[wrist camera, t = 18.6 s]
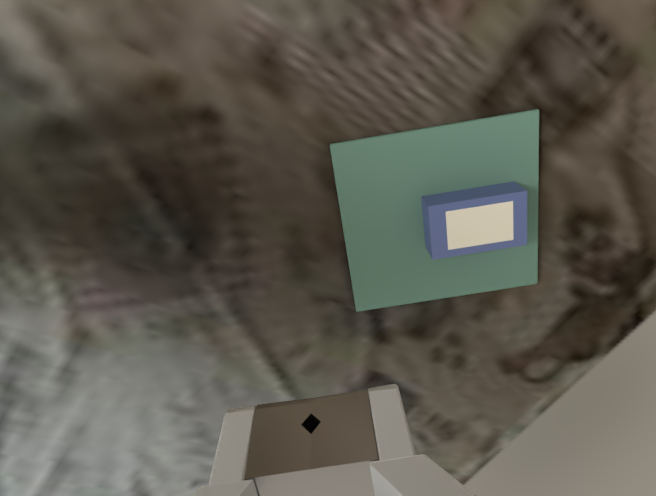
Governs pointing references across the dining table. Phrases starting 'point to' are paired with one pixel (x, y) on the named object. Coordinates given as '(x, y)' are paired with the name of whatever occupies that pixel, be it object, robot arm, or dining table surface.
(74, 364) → the dining table surface
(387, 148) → the mat
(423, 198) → the block
